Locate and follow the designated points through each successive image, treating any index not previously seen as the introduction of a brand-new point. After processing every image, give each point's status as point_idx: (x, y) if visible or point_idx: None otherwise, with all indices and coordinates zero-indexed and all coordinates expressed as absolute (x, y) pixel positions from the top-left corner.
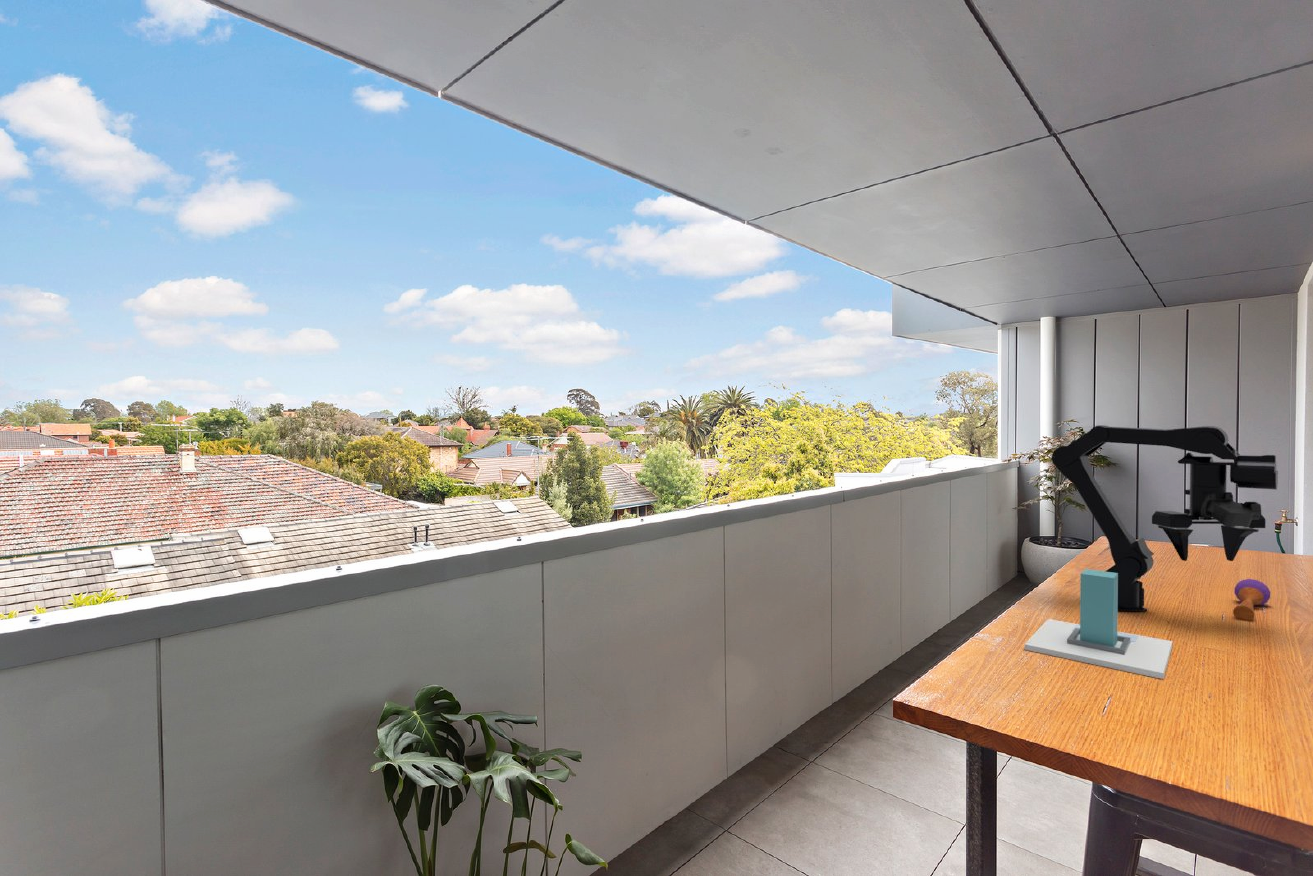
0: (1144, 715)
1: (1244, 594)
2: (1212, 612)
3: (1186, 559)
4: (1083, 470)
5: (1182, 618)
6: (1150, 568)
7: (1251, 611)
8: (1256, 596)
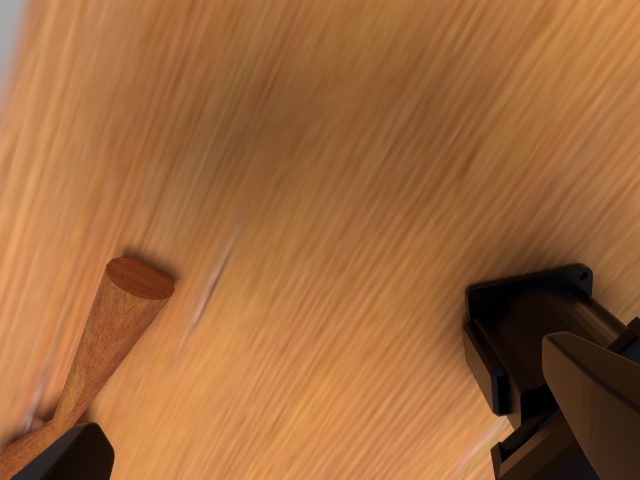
0: None
1: None
2: (219, 340)
3: (560, 338)
4: None
5: (376, 233)
6: (532, 454)
7: (111, 273)
8: (25, 446)
